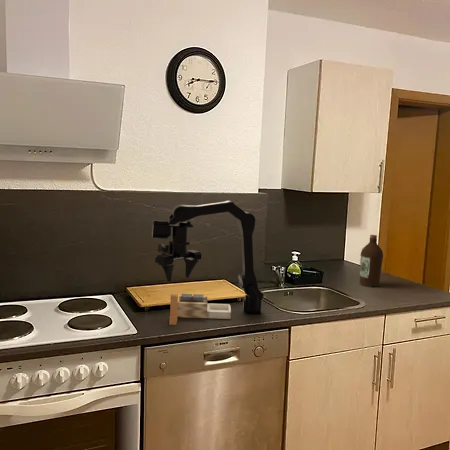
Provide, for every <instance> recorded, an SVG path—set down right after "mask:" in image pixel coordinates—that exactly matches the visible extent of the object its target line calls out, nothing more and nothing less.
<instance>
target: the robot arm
mask: <svg viewBox="0 0 450 450" xmlns="http://www.w3.org/2000/svg"><path fill="white" fill-rule="evenodd" d="M171 211H172V212H171V214H170V215H169V217H167V219H166V220H158V219H153V220H152V227H151V239H155V240H156V239H157V240H158V239H159V240H160V239H161V240H162V239H166V240H167V239H168V238H170V237H171V240H169V241H168V244H166V245H165V243H159V244H158V245H157V252H158V253H161V254H157V255H156V256H155V258H154V259H155V260H154V263H156V264H157V265H159V266H161V267H162V269H163V271H164V274H165V277H166V280H167V282H171V280H172V275H173V271H174V267H175V264H173V263H174V261H178V260H179V261H180V260H183V261H184V263H185V278H187V279H188V278H189V277H190V275H191V273H192V272H193V269H194V268H195V267H196V265H197V264H198V262H200V260H202V253H201V251H199V250H195V249H188V246H189V245H190V241H188V231H189V229H188V228H193V227H194V225H193V224H191V222H190V220H193V219H195V218H196V217H201V216H206V215H209V216H210V215H215V214H221V213H223V214H224V213H229V214H230V215H232V216H233V217H234V218H235V219H236V222H237V228H238V230H239V233H240V237H241V238H240V239H241V240H240V242H241V243H240V244H241V259H242V260H241V261H242V262H241V263H242V264H241V265H242V270H241V274H237V276H238V283H237V284H238V286H239V287H240V289H241V290H242V291H243V292H244V294H245V295H244V299H243V302H242V310H243V312H244V314H245V315H262V300H263V298H264V296H265V295H264V293H263V292H261V290H260V289H259V285H258V284H259V283H258V281H257V277H256V273H255V267H254V248H253V247H254V246H253V235H254V232H255V226H256V217H255V215H253V214H252V213H251V212H248V211H244V209H243V210H242V208H240V207H239V206H238V205H236V204H235V203H234V202H233V201H232V200H225V201H220V202H219V201H218V202H212V203H205V204H198V205H193V204H192V205H191V204H177V205H175V206H174V207H173V208H172V210H171Z"/></svg>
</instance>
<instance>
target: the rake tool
mask: <svg viewBox="0 0 450 450" xmlns="http://www.w3.org/2000/svg"><path fill="white" fill-rule="evenodd" d="M178 302H179V295H178V294H176V293H175V294H174V293H173V294H172V293H171V294H170V302H169V304H170V311H169V325H170V326H176V325H177V322H178V317H177V316H178V311H177V309H178Z"/></svg>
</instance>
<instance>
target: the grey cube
mask: <svg viewBox="0 0 450 450" xmlns="http://www.w3.org/2000/svg"><path fill="white" fill-rule="evenodd" d="M192 296H193V294H192V293H181V302H192Z"/></svg>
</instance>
